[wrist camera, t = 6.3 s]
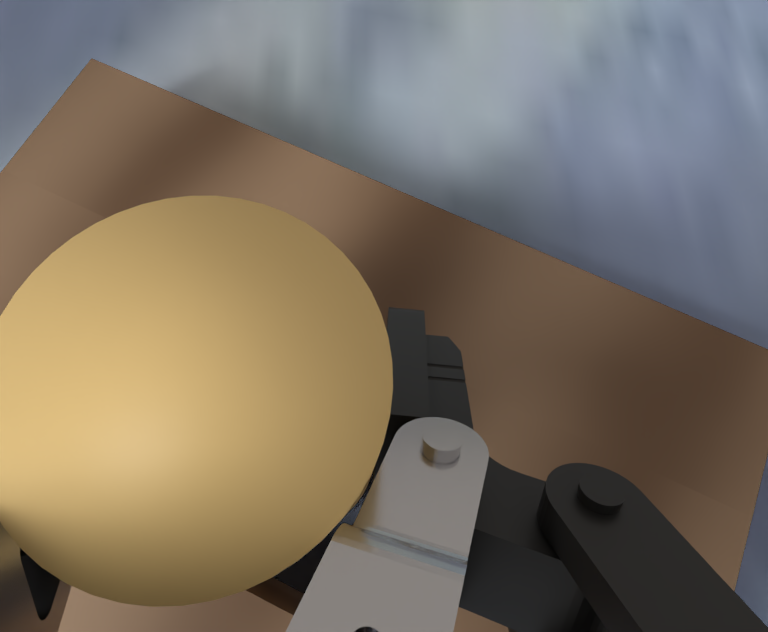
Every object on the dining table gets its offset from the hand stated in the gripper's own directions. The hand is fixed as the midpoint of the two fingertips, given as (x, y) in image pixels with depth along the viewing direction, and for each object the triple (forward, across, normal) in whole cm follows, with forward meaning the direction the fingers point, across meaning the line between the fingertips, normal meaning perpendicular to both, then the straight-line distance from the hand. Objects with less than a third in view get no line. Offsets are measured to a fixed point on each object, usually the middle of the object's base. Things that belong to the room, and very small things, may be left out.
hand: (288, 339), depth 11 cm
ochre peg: (+2, 0, +4) cm, 5 cm away
